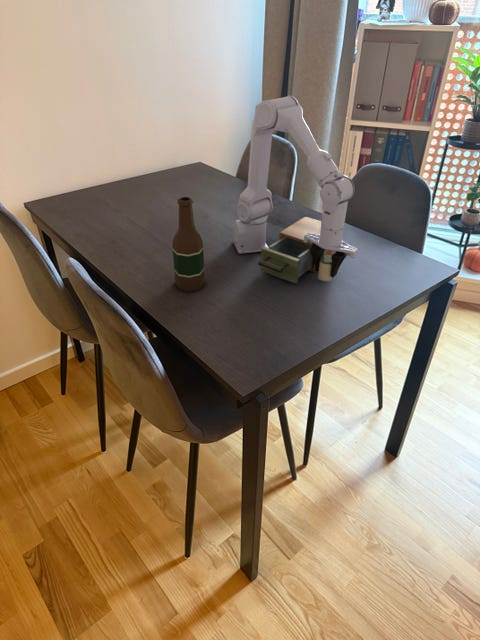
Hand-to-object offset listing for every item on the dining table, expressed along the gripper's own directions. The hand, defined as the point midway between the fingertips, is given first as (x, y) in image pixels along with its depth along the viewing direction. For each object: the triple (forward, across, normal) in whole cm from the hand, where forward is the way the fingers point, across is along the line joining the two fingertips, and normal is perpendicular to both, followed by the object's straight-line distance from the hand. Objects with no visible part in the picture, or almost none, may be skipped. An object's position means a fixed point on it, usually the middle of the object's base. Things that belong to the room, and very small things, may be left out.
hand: (326, 272), depth 128 cm
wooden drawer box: (+3, +11, -10) cm, 15 cm away
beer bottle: (+3, +28, +23) cm, 37 cm away
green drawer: (+2, +11, +2) cm, 11 cm away
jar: (+1, 0, 0) cm, 1 cm away
